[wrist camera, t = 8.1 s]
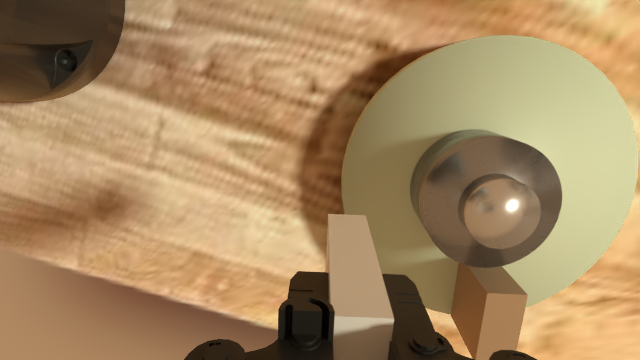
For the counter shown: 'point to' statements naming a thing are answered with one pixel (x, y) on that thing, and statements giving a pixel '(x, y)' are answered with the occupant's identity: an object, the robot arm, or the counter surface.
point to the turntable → (511, 121)
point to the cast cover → (485, 197)
